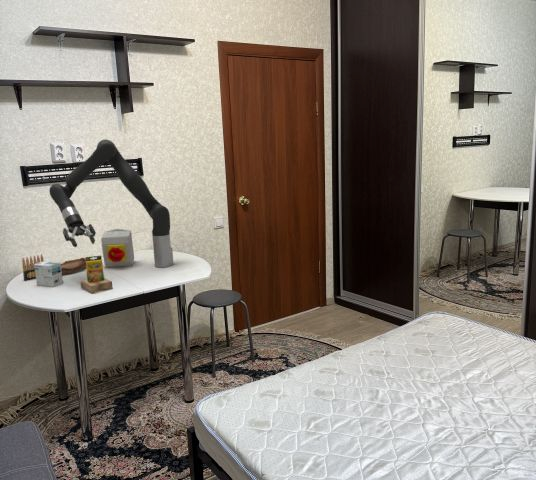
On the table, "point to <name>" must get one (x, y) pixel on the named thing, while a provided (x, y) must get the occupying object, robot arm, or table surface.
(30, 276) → the ammunition clip
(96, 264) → the crayon box
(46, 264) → the light bulb box
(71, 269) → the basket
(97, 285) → the tray
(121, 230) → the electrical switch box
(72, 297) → the table surface
